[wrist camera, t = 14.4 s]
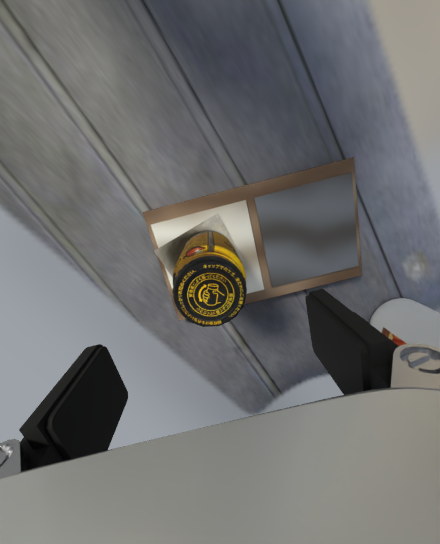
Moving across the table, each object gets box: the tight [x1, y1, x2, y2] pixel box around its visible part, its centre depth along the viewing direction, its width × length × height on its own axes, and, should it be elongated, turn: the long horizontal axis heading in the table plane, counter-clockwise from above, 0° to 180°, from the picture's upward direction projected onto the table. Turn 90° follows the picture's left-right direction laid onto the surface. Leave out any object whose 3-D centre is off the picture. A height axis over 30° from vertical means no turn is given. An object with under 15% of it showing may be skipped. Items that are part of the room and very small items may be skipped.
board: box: [143, 157, 362, 321], centre depth 28 cm, size 14×24×2 cm, turn 104°
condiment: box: [154, 213, 248, 327], centre depth 22 cm, size 7×8×12 cm
